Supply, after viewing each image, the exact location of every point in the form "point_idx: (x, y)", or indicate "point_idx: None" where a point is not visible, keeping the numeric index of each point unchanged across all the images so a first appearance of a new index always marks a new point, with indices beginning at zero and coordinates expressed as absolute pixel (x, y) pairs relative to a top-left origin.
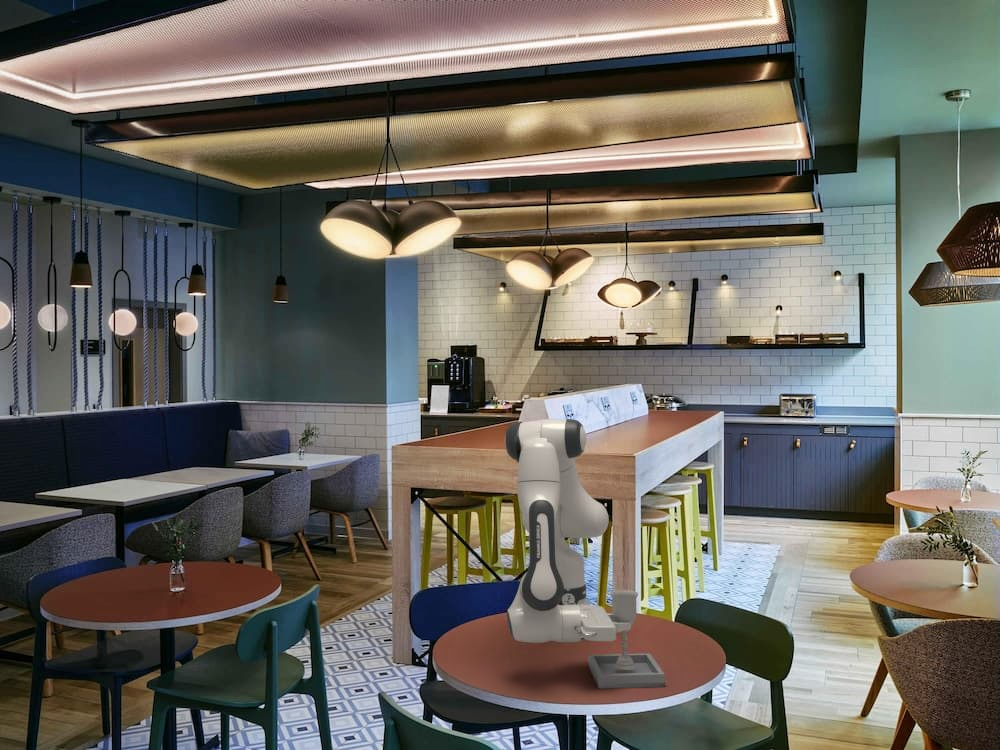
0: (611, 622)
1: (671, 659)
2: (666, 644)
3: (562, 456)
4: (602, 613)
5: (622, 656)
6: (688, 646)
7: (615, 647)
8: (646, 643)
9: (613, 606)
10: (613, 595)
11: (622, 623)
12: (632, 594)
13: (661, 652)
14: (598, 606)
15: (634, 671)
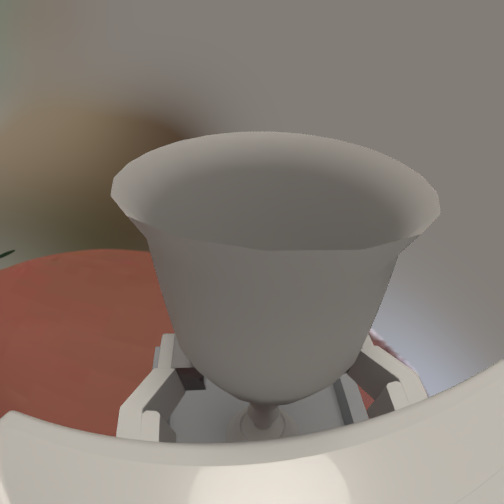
0: (475, 387)
1: (136, 314)
2: (55, 303)
3: None
4: (213, 487)
5: (271, 431)
6: (81, 276)
7: (27, 399)
8: (34, 332)
9: (335, 348)
10: (187, 262)
11: (384, 351)
12: (194, 164)
13: (89, 322)
14: (6, 437)
15: None
